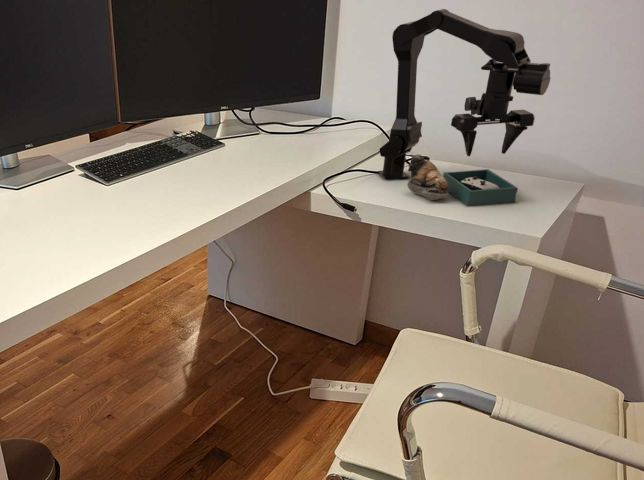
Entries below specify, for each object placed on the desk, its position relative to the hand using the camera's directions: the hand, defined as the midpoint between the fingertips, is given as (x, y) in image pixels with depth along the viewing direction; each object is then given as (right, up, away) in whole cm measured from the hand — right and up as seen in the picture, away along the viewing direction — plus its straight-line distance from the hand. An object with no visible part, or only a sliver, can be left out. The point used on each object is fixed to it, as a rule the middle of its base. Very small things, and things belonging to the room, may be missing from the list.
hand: (485, 154), depth 170 cm
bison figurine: (-14, -10, +5) cm, 18 cm away
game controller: (0, -8, +5) cm, 10 cm away
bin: (0, -9, +5) cm, 10 cm away
